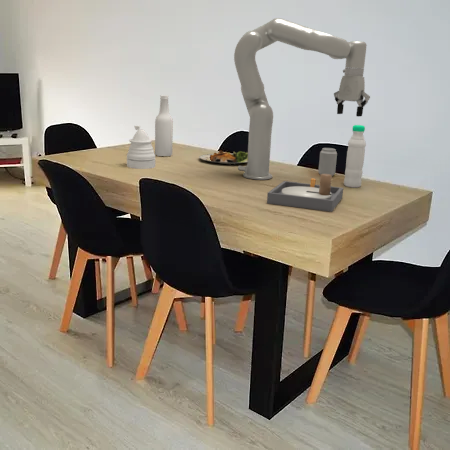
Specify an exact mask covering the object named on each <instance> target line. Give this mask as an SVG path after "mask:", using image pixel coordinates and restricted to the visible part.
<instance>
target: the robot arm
mask: <svg viewBox="0 0 450 450" xmlns="http://www.w3.org/2000/svg"><path fill="white" fill-rule="evenodd" d="M276 42H279V43H283V44H286V45H289V46H292V47H295V48H297V49H301V50H303V51H312V52H316V53H320V54H324V55H326V56H329V58H331V59H332V60H333V59H334V60H344V59H345V68H344V69H343V70H342V72H343V73H344V75H342V77H341V80H340V83H339V87H338V90H337V91H336V92H334V93H333V97H334V100H335V103H336V104H337V106H336V107H337V108H336V109H337V110H336V112H337V113H336V114H337V115H343V113H344V102H356V103H357V105H358V106H356V117H363V112H364V107H365V106H366V105H367V104H368V103H369V100H370V99H371V95H369V94H368V93H366V92H365V86H366V85H365V77H364V72H365V71H364V70H365V62H366V54H367V46H368V45H367V43H366V42H365V41H359V40H358V41H357V40H355V41H354V40H352V41H347V40H346V39H344V38H341V37H338V36H335V35H332V34H330V33H326V32H323V31H320V30H316V29H315V28H311V27H308V26H306V25H301V24H299V23H296V22H293V21H289V20H287V19H285V18H280V17H275V18H272V19H271V20H270V21H268V22H266V23H264V24H263V25H261V26H258V27H257V28H254V29H252V30H249V31H246V32H245V33H244V34H243V35H242V37H240V39H239V40H238V42H237V44H236V46H235V47H234V48H235V49H234V54H233V58H234V59H233V60H234V66H235V69H236V72H237V76H238V79H239V83H240V89H241V90H240V91H241V95H242V98H243V101H244V105H245V106H246V110H247V112H248V115H249V128H248V144H247V153H248V160H247V162H246V165H244V166H243V165H238V166H237V170H238V171H241V172H243V173H242V176H243V178H246V179H249V180H250V179H251V180H260V181H261V180H262V181H263V180H271V179H272V178H273V174H272V173H270V163H271V162H270V161H271V148H272V147H271V144H272V131H273V122H274V112H273V108H272V107H271V105H270V104H269V102H268V97H267V94H266V93H265V92H266V91H265V84H264V83H263V80H262V78H261V75H260V71H259V69H258V65H257V62H256V55H257V52H258V51H260V50H263V49H264V48H266V47H269V46H271V45H272V44H275V43H276Z"/></svg>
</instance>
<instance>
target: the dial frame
mask: <svg viewBox="0 0 450 450" xmlns="http://www.w3.org/2000/svg"><path fill="white" fill-rule="evenodd" d="M316 181H317V179H316V178H310V183H306V182H297V181H288V180H287V181H286V180H283V181H282V182H280V183H279V184H278V185H277V186H275V187H274V188H272V189H271V190H269V191H267V197H266V204H269V205H277V206H285V207H294V208H302V209H306V210H307V209H308V210H309V209H310V210H315V211H322V212H323V211H324V212H333V211H335V208H337V206H338V204H339V203H340V202H341V200H342V199H343V194H344V187H341V186H333V185H331V190H330V192H331V193H332V196H331V199H330V200H328V199H320V198H312V197H304V196H296V195H288V194H282V189H283V188H286V187H293V186H305V187H315V188H319V186H320V184H316Z"/></svg>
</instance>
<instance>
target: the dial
mask: <svg viewBox="0 0 450 450" xmlns="http://www.w3.org/2000/svg"><path fill="white" fill-rule="evenodd" d="M319 175H320V174H319ZM332 179H333V176H332V175H330V174H321V175H320V178H319V185H320V186H319V188H315V187H305V186H293V187H286V188H283V189H282V194H288V195H296V196H304V197H312V198H320V199H328V200H330V199H331V196H332V193H331V192H330V190H331V186H332Z"/></svg>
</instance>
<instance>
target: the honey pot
mask: <svg viewBox="0 0 450 450" xmlns="http://www.w3.org/2000/svg"><path fill="white" fill-rule="evenodd" d="M134 130H136V132H135V134H134V135H133V137H132V138H130V139H129V140H128V141H129V143H130V145H129V147H128V151H127V154H126V166H127V168H130V169H137V170H139V169H140V170H142V169H143V170H145V169H147V170H148V169H152V168H156V155H155V149H154V147H153V144H152V141H153V140H152V139H150V137H149V135H148V133H147V132H146V131H145V130H144V129H141V125H134Z"/></svg>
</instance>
